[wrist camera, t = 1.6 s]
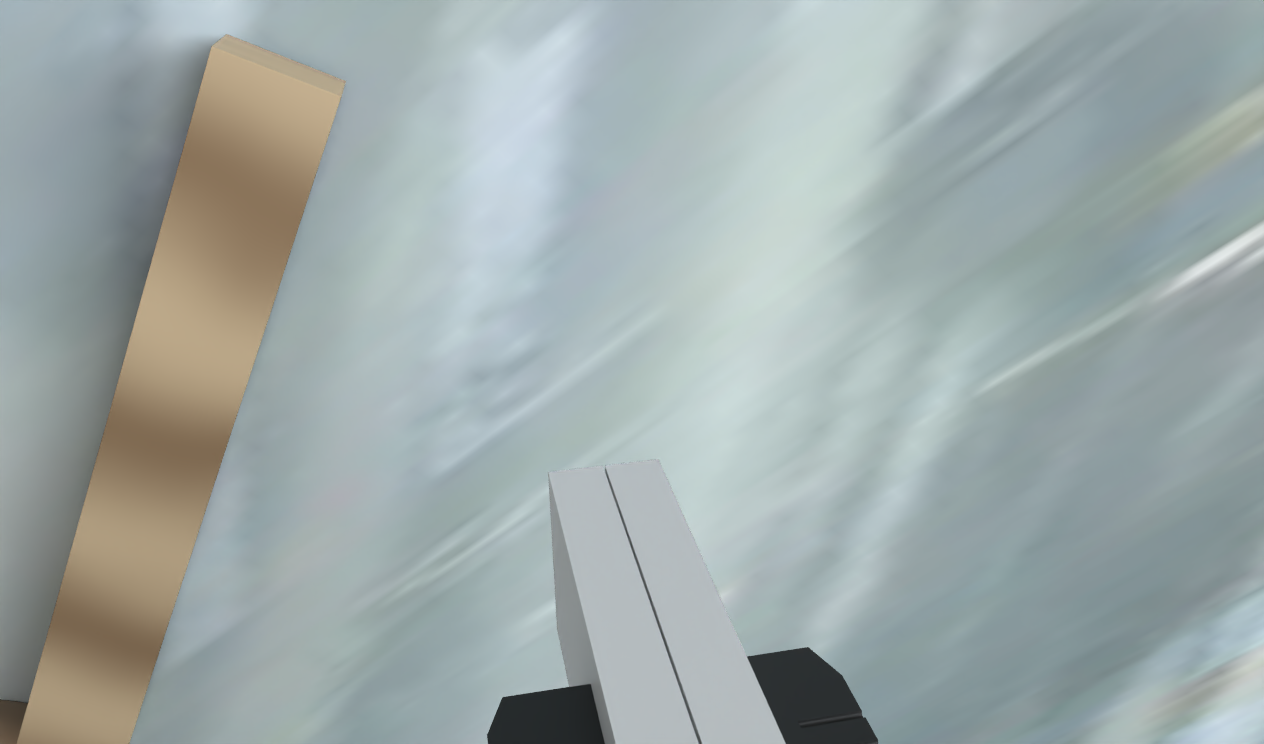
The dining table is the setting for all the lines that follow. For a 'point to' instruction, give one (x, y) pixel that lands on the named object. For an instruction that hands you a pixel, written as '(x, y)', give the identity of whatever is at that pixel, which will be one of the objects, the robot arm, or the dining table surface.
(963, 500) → the dining table surface
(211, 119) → the tongs swing jaw
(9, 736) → the bar
